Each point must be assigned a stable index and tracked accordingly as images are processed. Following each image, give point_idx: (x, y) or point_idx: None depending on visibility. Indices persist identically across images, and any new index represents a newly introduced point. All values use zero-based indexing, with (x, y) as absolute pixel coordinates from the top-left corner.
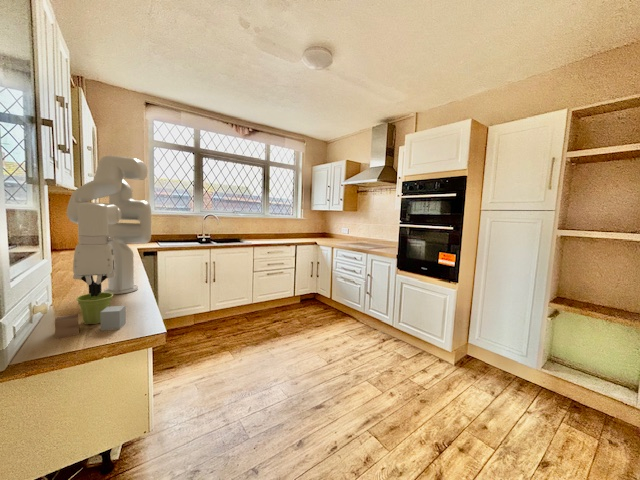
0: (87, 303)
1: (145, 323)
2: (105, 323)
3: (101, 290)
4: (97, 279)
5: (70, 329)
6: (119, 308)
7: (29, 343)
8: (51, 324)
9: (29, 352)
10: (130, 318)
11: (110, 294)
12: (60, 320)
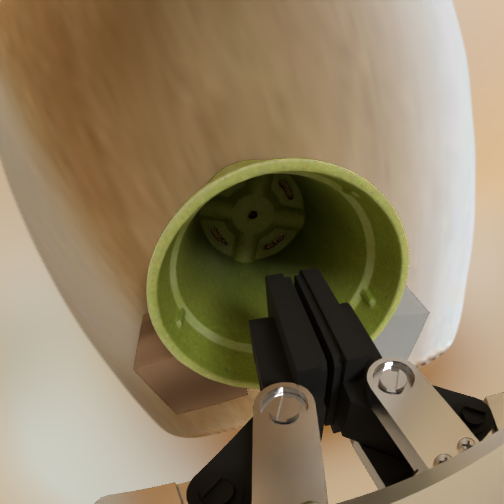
0: None
1: (439, 279)
2: None
3: (349, 304)
4: (376, 470)
5: None
6: (404, 347)
7: (122, 375)
8: (58, 216)
9: (168, 415)
10: (399, 209)
11: (385, 221)
12: (185, 404)
